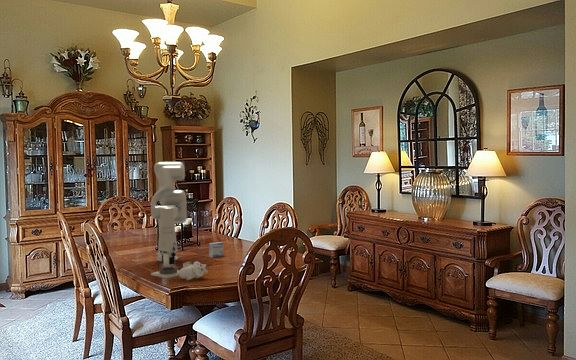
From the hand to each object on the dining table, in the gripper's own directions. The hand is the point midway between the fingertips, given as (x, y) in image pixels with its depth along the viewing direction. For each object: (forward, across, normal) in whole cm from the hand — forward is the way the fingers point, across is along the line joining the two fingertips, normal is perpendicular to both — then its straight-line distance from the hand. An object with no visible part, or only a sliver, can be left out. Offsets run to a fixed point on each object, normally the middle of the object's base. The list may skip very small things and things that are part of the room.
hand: (168, 263), depth 274 cm
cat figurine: (+6, +18, +1) cm, 19 cm away
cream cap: (+2, 0, 0) cm, 2 cm away
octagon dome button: (+6, 0, 0) cm, 6 cm away
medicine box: (+6, -11, +49) cm, 51 cm away
